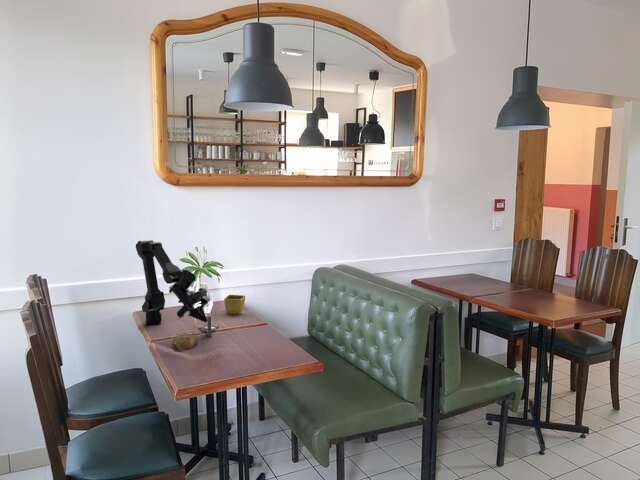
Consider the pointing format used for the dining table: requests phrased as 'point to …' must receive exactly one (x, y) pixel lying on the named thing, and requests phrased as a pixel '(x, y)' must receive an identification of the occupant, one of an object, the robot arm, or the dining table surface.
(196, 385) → the dining table surface
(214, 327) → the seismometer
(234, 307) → the flower pot
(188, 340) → the mottled green brown ball
